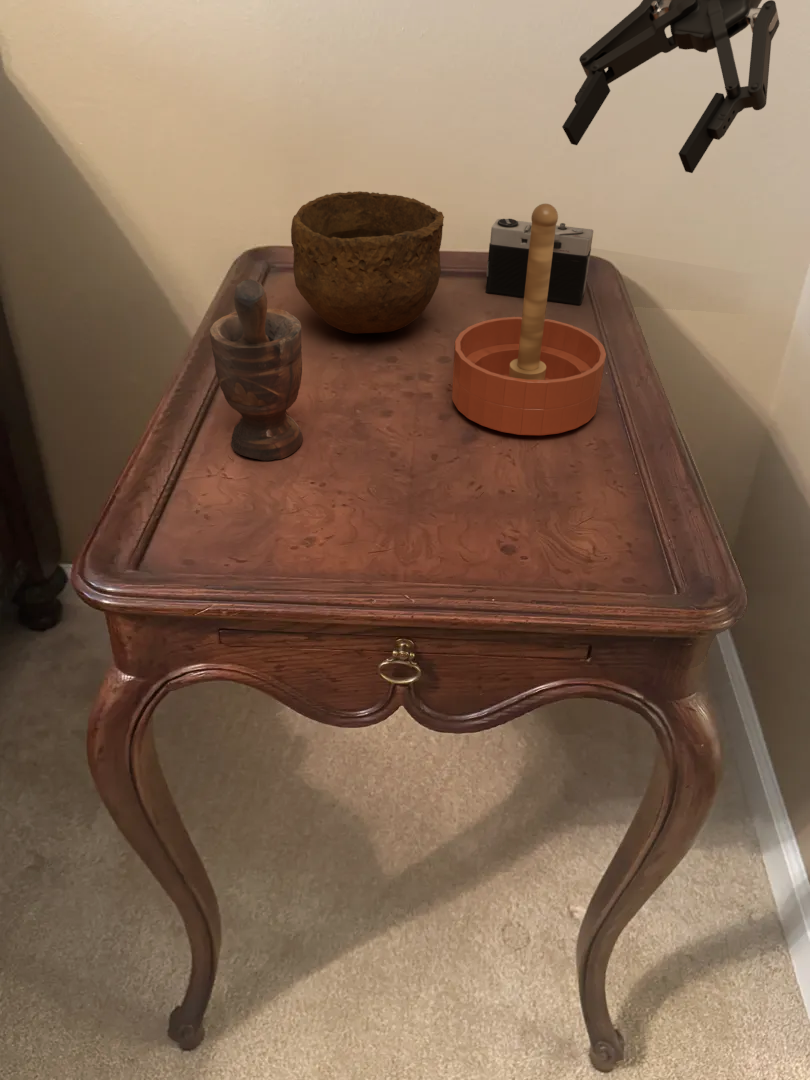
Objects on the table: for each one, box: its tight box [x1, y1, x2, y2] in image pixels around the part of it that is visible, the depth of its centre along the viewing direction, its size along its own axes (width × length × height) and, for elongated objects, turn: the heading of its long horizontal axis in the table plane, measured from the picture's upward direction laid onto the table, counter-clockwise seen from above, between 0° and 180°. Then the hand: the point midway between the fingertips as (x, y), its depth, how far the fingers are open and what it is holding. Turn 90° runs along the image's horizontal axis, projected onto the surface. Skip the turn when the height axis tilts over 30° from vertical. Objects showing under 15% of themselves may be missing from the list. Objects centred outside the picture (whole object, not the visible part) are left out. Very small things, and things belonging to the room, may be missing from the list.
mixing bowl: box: [451, 316, 607, 436], centre depth 98 cm, size 16×16×7 cm
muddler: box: [509, 203, 559, 380], centre depth 93 cm, size 4×4×21 cm
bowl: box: [290, 190, 445, 334], centre depth 111 cm, size 19×19×15 cm
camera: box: [485, 218, 594, 306], centre depth 124 cm, size 14×9×10 cm, turn 65°
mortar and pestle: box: [209, 278, 303, 462], centre depth 85 cm, size 12×9×20 cm
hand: (624, 149), depth 87 cm, fingers open, 13 cm apart
